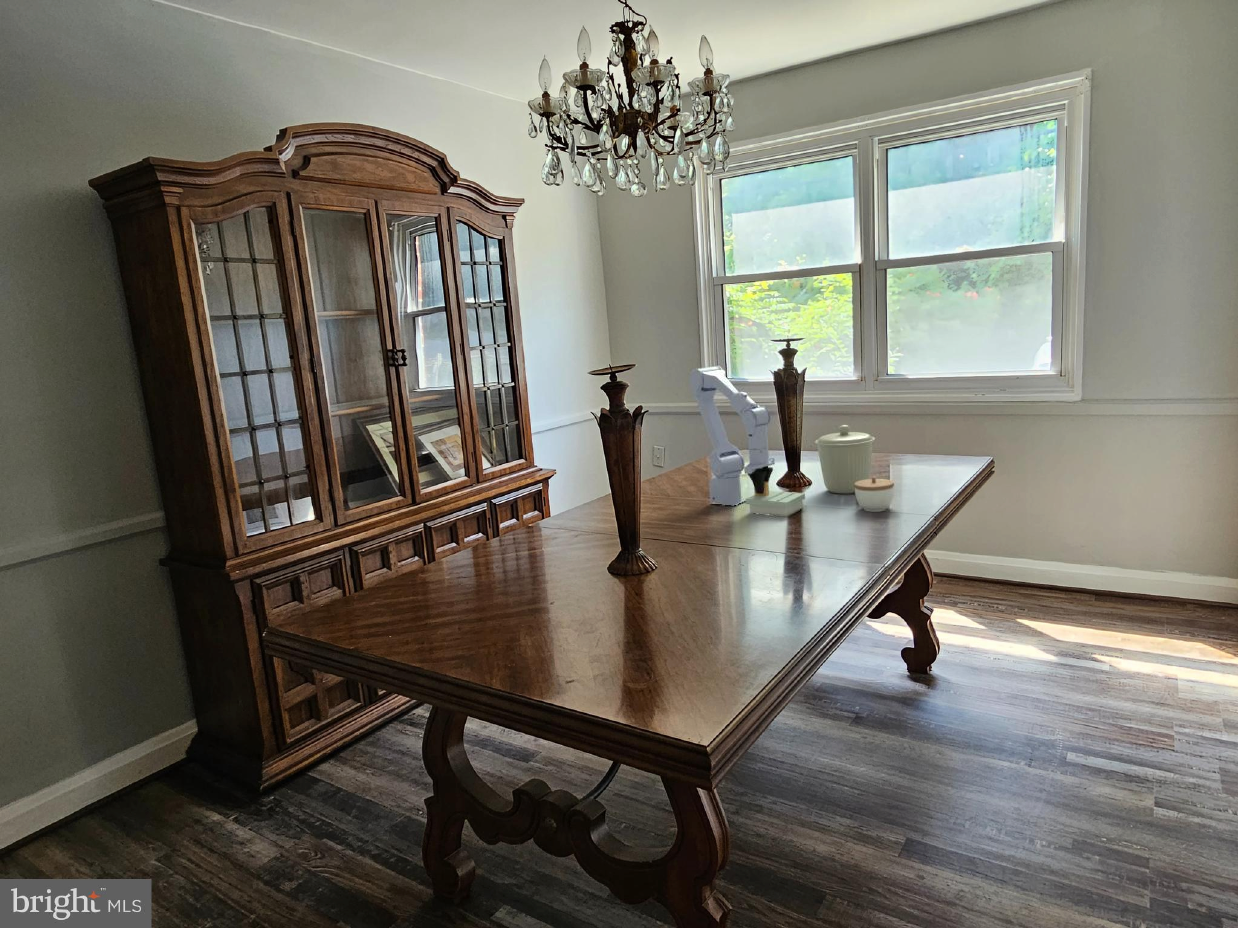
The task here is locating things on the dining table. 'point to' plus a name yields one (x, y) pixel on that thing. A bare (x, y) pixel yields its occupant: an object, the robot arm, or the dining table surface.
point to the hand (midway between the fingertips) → (761, 492)
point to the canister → (845, 459)
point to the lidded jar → (874, 494)
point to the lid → (775, 498)
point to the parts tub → (776, 509)
